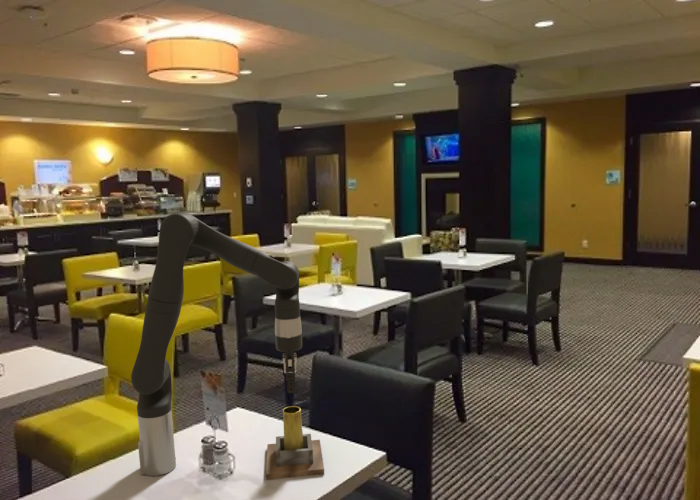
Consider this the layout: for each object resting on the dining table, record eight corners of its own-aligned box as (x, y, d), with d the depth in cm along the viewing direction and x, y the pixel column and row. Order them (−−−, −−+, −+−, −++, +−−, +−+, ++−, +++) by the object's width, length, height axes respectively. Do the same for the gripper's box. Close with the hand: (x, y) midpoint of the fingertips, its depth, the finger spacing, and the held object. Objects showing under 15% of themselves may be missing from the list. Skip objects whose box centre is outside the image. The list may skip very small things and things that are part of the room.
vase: (295, 463, 167) (292, 415, 165) (279, 457, 171) (276, 411, 169) (309, 454, 172) (306, 408, 170) (293, 449, 175) (290, 403, 173)
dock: (266, 479, 162) (265, 460, 161) (267, 448, 179) (266, 431, 179) (324, 474, 163) (323, 455, 163) (319, 444, 181) (319, 427, 180)
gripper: (275, 326, 172) (277, 379, 175) (274, 340, 158) (277, 397, 161) (300, 324, 173) (303, 377, 176) (302, 338, 159) (305, 395, 162)
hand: (290, 387), depth 168 cm, fingers open, 8 cm apart
